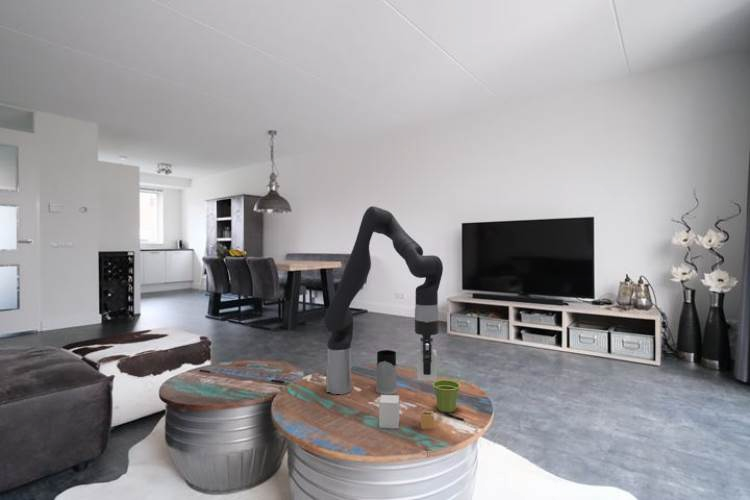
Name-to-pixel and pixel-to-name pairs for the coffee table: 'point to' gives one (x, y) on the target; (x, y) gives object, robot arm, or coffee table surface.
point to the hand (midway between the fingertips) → (426, 370)
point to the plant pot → (446, 394)
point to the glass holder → (386, 372)
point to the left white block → (389, 411)
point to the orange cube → (427, 420)
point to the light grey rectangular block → (420, 367)
